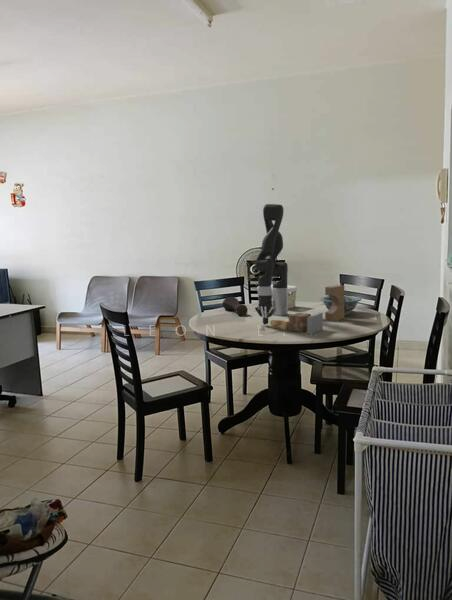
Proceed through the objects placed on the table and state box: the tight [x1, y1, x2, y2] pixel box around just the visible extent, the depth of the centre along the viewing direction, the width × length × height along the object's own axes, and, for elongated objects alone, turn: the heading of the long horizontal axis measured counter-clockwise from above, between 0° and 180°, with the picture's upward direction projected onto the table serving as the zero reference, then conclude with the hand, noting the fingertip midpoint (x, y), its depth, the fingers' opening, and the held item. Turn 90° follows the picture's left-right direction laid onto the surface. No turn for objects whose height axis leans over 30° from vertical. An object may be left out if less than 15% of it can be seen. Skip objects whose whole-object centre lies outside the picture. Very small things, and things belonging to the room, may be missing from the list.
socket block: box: [288, 312, 312, 333], centre depth 259 cm, size 8×10×8 cm
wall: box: [306, 312, 324, 335], centre depth 254 cm, size 2×14×9 cm, turn 144°
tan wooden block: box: [269, 319, 289, 330], centre depth 267 cm, size 10×4×4 cm, turn 56°
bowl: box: [320, 295, 362, 316], centre depth 302 cm, size 25×25×10 cm
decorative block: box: [324, 284, 345, 322], centre depth 282 cm, size 11×6×20 cm, turn 124°
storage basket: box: [256, 283, 298, 309], centre depth 332 cm, size 24×16×15 cm
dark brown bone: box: [222, 296, 248, 317], centre depth 318 cm, size 11×10×28 cm
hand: (265, 324), depth 273 cm, fingers closed
